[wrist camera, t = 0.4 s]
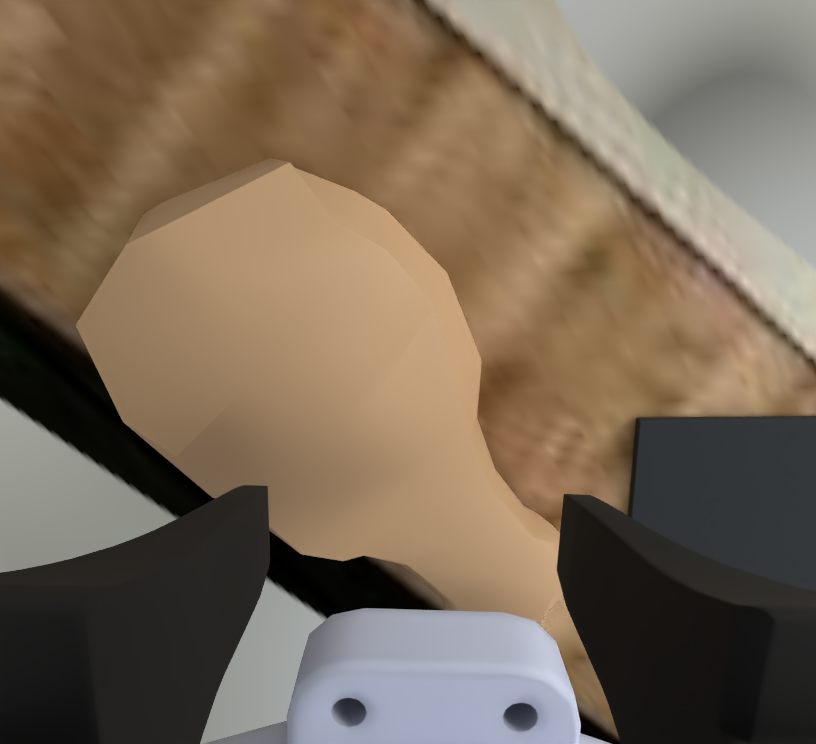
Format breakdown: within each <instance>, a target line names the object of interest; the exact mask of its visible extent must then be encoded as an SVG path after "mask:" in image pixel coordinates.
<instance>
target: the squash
mask: <svg viewBox="0 0 816 744" xmlns="http://www.w3.org/2000/svg"><path fill="white" fill-rule="evenodd" d="M76 327H77V329H78V331H79V333H80V335H81V337H82V339H83V341H84V343H85V345H86V347H87V349H88V352H89V354H90V356H91V358H92V360H93V362H94V364H95V366H96V368H97V370H98V372H99V374H100V376H101V378H102V380H103V382H104V384H105V386H106V388H107V390H108V392H109V394H110V396H111V398H112V400H113V402H114V405H115V407H116V409H117V411H118V413H119V415H120V417H121V419H122V421H123V422H124V423H125V424H126V425H127V426H128V427H130V428H131V429H132V430H133V431H134V432H136V433H137V434H138V435H139V436H140V437H142V438H143V439H144V440H145V441H146V442H147V443H149V444H150V445H151V446H152V447H153V448H155V449H156V450H157V451H158V452H159V453H160V454H162V455H163V456H164V457H165V458H166V459H168V460H169V461H170V462H171V463H172V464H173V465H175V466H176V467H177V468H178V469H179V470H181V471H182V472H183V473H184V474H185V475H186V476H188V477H189V478H190V479H191V480H192V481H194V482H195V483H196V484H197V485H198V486H200V487H201V488H202V489H203V490H204V491H205V492H207V493H208V494H209V495H210V496H211V497H213V498H217V497H219V496H221V495H223V494H225V493H227V492H228V491H230V490H232V489H234V488H237V487H239V486H242V485H258V486H268V508H269V530H270V531H271V532H272V533H274V534H275V535H276V536H278V537H279V538H280V539H282V540H283V541H284V542H286V543H287V544H288V545H290V546H291V547H292V548H294V549H295V550H296V551H298V552H299V553H300V554H303V555H309V556H315V557H321V558H327V559H334V560H340V561H345V560H349V559H353V558H356V557H360V556H369V557H373V558H378V559H382V560H387V561H391V562H396V563H398V564H400V565H401V566H402V567H404V568H405V569H406V570H407V571H409V572H410V573H411V574H413V575H414V576H415V577H417V578H418V579H419V580H420V581H422V582H423V583H424V584H426V585H427V586H428V587H430V588H431V589H432V590H434V591H435V592H436V593H437V594H439V595H440V596H441V597H443V602H444V610H445V611H477V612H504V613H508V614H512V615H515V616H519V617H523V618H527V619H530V620H534V621H535V622H536V623H537V624H538V623H539V622H540V621H541V620H542V619H543V618H544V616H545V615H546V614H547V613H548V612H549V611H550V610H551V608H552V607H553V606H554V605H555V604H556V603H557V602H558V600H559V599H560V598H561V597H562V596H563V592H562V589H561V585H560V581H559V577H558V573H557V560H558V550H559V540H560V533H559V532H558V531H557V530H556V529H555V528H554V527H553V526H552V525H551V524H550V523H549V522H547V521H546V520H545V519H544V518H542V517H541V516H540V515H538V514H537V513H536V512H534V511H532V510H530V509H529V508H527V507H525V506H523V505H522V503H521V502H520V501H519V500H518V498H517V497H516V496H515V494H514V493H513V492H512V490H511V489H510V488H509V487H508V485H507V484H506V483H505V481H504V480H503V479H502V477H501V476H500V475H499V473H498V472H497V471H496V470H495V467H494V465H493V462H492V459H491V456H490V453H489V450H488V448H487V445H486V442H485V439H484V436H483V433H482V431H481V428H480V425H479V422H478V419H477V410H478V398H479V386H480V375H481V363H482V360H481V358H480V355H479V353H478V350H477V347H476V345H475V342H474V340H473V337H472V335H471V332H470V330H469V327H468V325H467V322H466V320H465V317H464V315H463V312H462V310H461V307H460V305H459V302H458V300H457V297H456V295H455V292H454V289H453V287H452V284H451V282H450V279H449V277H448V274H447V272H446V271H445V270H444V269H443V268H442V267H441V266H440V265H439V264H438V263H437V262H436V261H435V260H434V259H433V258H432V257H431V256H430V255H429V254H428V253H427V251H426V250H425V249H424V248H423V247H422V246H421V245H420V244H419V243H418V242H417V241H416V240H415V239H414V238H413V237H412V236H411V235H410V234H409V233H408V232H407V231H406V230H405V229H404V228H403V227H402V226H401V225H400V224H399V222H398V221H397V220H396V219H395V218H394V217H393V216H392V215H391V214H390V213H389V212H388V211H387V210H385V209H384V208H382V207H380V206H379V205H377V204H375V203H374V202H372V201H370V200H369V199H367V198H365V197H364V196H362V195H360V194H359V193H357V192H355V191H353V190H350V189H348V188H345V187H343V186H340V185H338V184H335V183H332V182H330V181H327V180H325V179H322V178H320V177H317V176H315V175H312V174H309V173H307V172H304V171H302V170H299V169H297V168H294V167H293V166H292V164H291V163H290V162H286V161H281V160H277V159H272V158H268V159H266V160H264V161H261V162H259V163H256V164H254V165H252V166H249V167H247V168H244V169H242V170H239V171H237V172H235V173H232V174H230V175H227V176H225V177H223V178H220V179H218V180H215V181H213V182H210V183H208V184H206V185H203V186H201V187H198V188H196V189H194V190H191V191H189V192H186V193H184V194H181V195H179V196H177V197H174V198H172V199H169V200H167V201H165V202H163V203H161V204H159V205H157V206H156V207H154V208H152V209H150V210H149V211H147V212H145V213H144V214H143V216H142V217H141V219H140V221H139V223H138V224H137V226H136V228H135V230H134V231H133V233H132V235H131V237H130V238H129V240H128V242H127V244H126V245H125V247H124V249H123V250H122V252H121V253H120V255H119V257H118V258H117V260H116V261H115V263H114V265H113V266H112V268H111V269H110V271H109V273H108V274H107V276H106V277H105V279H104V281H103V282H102V284H101V285H100V287H99V289H98V290H97V292H96V293H95V295H94V297H93V298H92V300H91V301H90V303H89V305H88V306H87V308H86V309H85V311H84V313H83V314H82V316H81V317H80V319H79V321H78V322H77V324H76Z"/></svg>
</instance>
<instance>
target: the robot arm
mask: <svg viewBox="0 0 816 744" xmlns="http://www.w3.org/2000/svg"><path fill="white" fill-rule="evenodd" d="M269 564H270V539H269V508H268V486H258V485H242V486H239V487H237V488H234V489H232V490H230V491H228V492H227V493H225V494H223V495H221V496H219V497H217V498H216V499H214V500H212V501H210V502H208V503H207V504H205V505H203V506H201V507H199V508H198V509H196V510H194V511H192V512H190V513H188V514H186V515H184V516H182V517H180V518H178V519H176V520H174V521H172V522H170V523H168V524H166V525H165V526H162V527H160V528H158V529H156V530H154V531H151V532H149V533H147V534H144V535H142V536H140V537H137V538H134V539H132V540H129V541H126V542H124V543H121V544H119V545H116V546H113V547H110V548H106V549H103V550H99V551H96V552H93V553H90V554H86V555H83V556H79V557H76V558H73V559H69V560H64V561H60V562H56V563H52V564H48V565H43V566H37V567H32V568H27V569H22V570H16V571H10V572H2V573H0V744H200V741H201V738H202V735H203V732H204V729H205V726H206V723H207V720H208V717H209V714H210V711H211V708H212V705H213V702H214V699H215V696H216V693H217V691H218V688H219V686H220V683H221V681H222V679H223V676H224V674H225V671H226V669H227V667H228V665H229V663H230V661H231V659H232V657H233V654H234V652H235V650H236V648H237V645H238V644H239V641H240V639H241V637H242V635H243V633H244V631H245V629H246V626H247V624H248V622H249V620H250V618H251V615H252V613H253V611H254V609H255V607H256V604H257V602H258V600H259V598H260V595H261V591H262V588H263V585H264V582H265V578H266V575H267V571H268V568H269ZM557 573H558V577H559V581H560V585H561V589H562V592H563V596H564V599H565V603H566V606H567V608H568V611H569V613H570V616H571V618H572V620H573V622H574V625H575V627H576V629H577V632H578V634H579V636H580V638H581V641H582V643H583V645H584V647H585V650H586V652H587V654H588V656H589V659H590V661H591V663H592V665H593V668H594V670H595V672H596V674H597V677H598V679H599V681H600V684H601V686H602V688H603V691H604V694H605V696H606V699H607V701H608V704H609V707H610V710H611V713H612V716H613V719H614V723H615V726H616V729H617V732H618V735H619V738H620V742H621V744H816V591H813V590H809V589H805V588H801V587H797V586H793V585H789V584H785V583H782V582H778V581H775V580H771V579H768V578H765V577H762V576H759V575H756V574H753V573H750V572H747V571H743V570H740V569H738V568H735V567H732V566H729V565H727V564H724V563H722V562H719V561H717V560H714V559H712V558H710V557H707V556H705V555H702V554H700V553H698V552H695V551H693V550H691V549H689V548H687V547H685V546H683V545H681V544H679V543H677V542H675V541H673V540H671V539H669V538H667V537H665V536H663V535H661V534H659V533H657V532H656V531H654V530H652V529H650V528H648V527H647V526H645V525H643V524H641V523H640V522H638V521H636V520H634V519H633V518H631V517H629V516H628V515H626V514H624V513H622V512H621V511H619V510H617V509H616V508H614V507H612V506H610V505H609V504H607V503H605V502H603V501H601V500H600V499H598V498H595V497H593V496H591V495H573V494H564V499H563V509H562V519H561V529H560V540H559V550H558V560H557ZM580 729H581V723H580V718H579V713H578V709H577V704H576V699H575V695H574V692H573V689H572V686H571V683H570V680H569V677H568V675H567V672H566V669H565V666H564V663H563V660H562V658H561V655H560V652H559V649H558V646H557V643H556V641H555V640H554V639H553V638H552V637H551V636H550V635H549V634H548V633H547V632H546V631H545V630H544V629H543V628H542V627H541V626H540V625H539V624H537V623H536V622H535V621H534V620H530V619H527V618H523V617H519V616H515V615H512V614H508V613H504V612H477V611H442V610H407V609H373V608H363V609H358V610H353V611H348V612H343V613H339V614H334V615H331V616H330V617H329V618H328V619H327V620H326V621H324V622H323V623H322V624H321V625H320V626H319V627H317V628H316V629H315V630H314V631H313V632H311V633H310V634H309V637H308V640H307V644H306V647H305V650H304V654H303V657H302V661H301V664H300V668H299V672H298V676H297V680H296V684H295V687H294V691H293V695H292V699H291V703H290V707H289V710H288V714H287V721H284V722H281V723H278V724H274V725H270V726H266V727H263V728H259V729H256V730H252V731H248V732H245V733H241V734H238V735H234V736H230V737H227V738H224V739H219V740H216V741H212V742H209V743H205V744H611V743H608V742H605V741H602V740H599V739H596V738H593V737H590V736H587V735H584V734H581V733H580Z"/></svg>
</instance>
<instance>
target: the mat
mask: <svg viewBox="0 0 816 744" xmlns="http://www.w3.org/2000/svg"><path fill="white" fill-rule="evenodd" d="M628 516H629V517H631V518H633V519H634V520H636V521H638V522H640V523H641V524H643V525H645V526H647V527H648V528H650V529H652V530H654V531H656V532H657V533H659V534H661V535H663V536H665V537H667V538H669V539H671V540H673V541H675V542H677V543H679V544H681V545H683V546H685V547H687V548H689V549H691V550H693V551H695V552H698V553H700V554H702V555H705V556H707V557H710V558H712V559H714V560H717V561H719V562H722V563H724V564H727V565H729V566H732V567H735V568H738V569H740V570H743V571H747V572H750V573H753V574H756V575H759V576H762V577H765V578H768V579H771V580H775V581H778V582H782V583H785V584H789V585H793V586H797V587H801V588H805V589H809V590H813V591H816V416H803V417H687V418H637V422H636V433H635V445H634V456H633V468H632V479H631V491H630V502H629V514H628Z"/></svg>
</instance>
